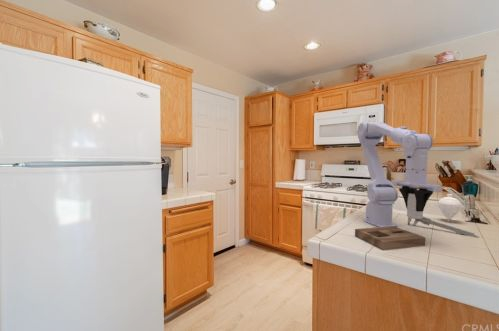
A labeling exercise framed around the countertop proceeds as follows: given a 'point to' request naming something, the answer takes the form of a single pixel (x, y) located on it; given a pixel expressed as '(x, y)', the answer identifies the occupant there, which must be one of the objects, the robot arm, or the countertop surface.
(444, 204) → the spinning top
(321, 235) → the countertop surface
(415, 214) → the peg
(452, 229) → the caliper
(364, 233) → the socket block
